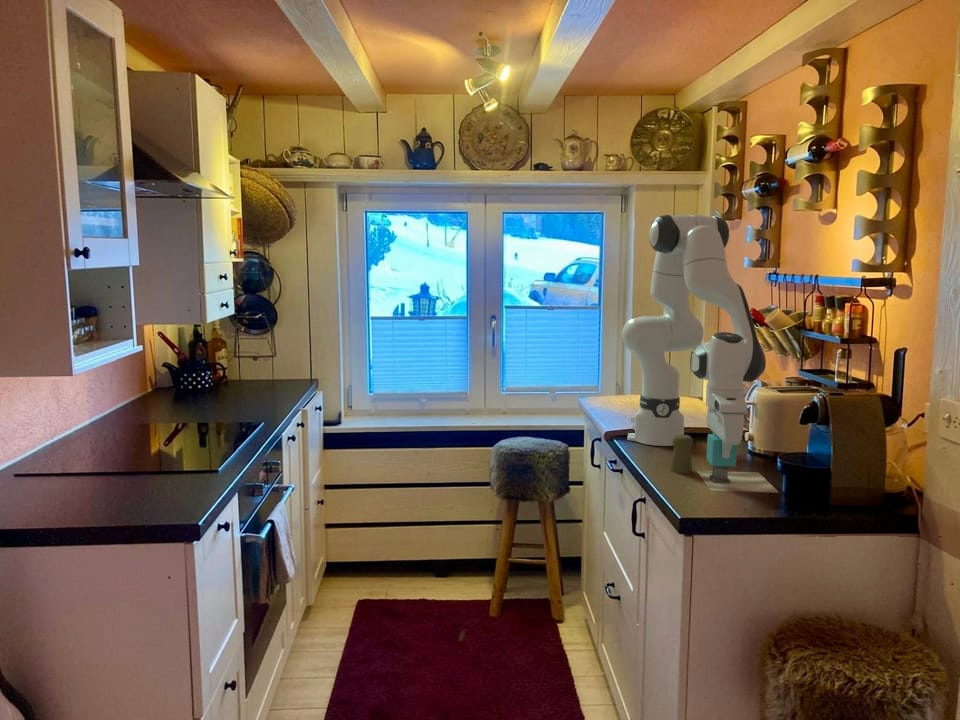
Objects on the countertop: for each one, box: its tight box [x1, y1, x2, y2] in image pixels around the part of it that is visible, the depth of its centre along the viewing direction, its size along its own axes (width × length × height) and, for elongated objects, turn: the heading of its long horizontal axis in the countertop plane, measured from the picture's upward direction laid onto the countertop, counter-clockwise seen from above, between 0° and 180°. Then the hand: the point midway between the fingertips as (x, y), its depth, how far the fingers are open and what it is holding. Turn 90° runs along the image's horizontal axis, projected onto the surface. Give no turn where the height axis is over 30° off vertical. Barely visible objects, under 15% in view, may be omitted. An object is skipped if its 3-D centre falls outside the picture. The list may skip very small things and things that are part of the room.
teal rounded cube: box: [706, 433, 738, 467], centre depth 182 cm, size 6×6×7 cm
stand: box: [696, 466, 779, 494], centre depth 183 cm, size 16×16×8 cm
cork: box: [669, 434, 694, 475], centre depth 191 cm, size 6×6×11 cm
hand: (721, 453), depth 182 cm, fingers closed on teal rounded cube, 6 cm apart
